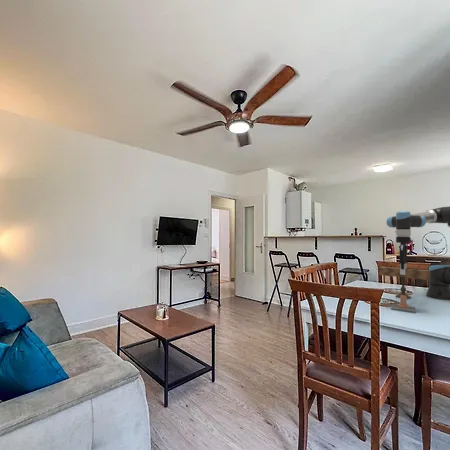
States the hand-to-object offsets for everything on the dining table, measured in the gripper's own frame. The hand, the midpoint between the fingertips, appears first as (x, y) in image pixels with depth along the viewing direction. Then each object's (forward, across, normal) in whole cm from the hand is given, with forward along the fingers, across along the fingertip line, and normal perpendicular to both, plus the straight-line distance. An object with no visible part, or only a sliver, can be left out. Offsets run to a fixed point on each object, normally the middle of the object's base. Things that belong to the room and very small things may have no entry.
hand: (403, 274), depth 165 cm
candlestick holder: (+21, -33, -4) cm, 40 cm away
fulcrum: (+21, +2, 0) cm, 21 cm away
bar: (+2, 0, 0) cm, 2 cm away
